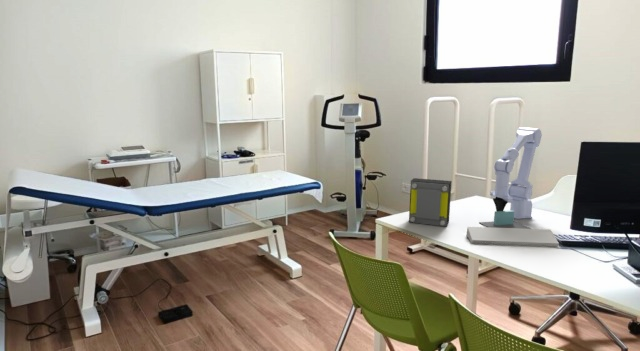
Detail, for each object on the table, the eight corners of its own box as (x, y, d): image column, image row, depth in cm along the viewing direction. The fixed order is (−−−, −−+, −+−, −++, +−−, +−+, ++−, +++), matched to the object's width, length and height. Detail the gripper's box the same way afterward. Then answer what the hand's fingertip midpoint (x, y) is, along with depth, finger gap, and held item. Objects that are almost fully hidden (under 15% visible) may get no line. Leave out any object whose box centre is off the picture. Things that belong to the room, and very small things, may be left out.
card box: (510, 223, 216) (511, 210, 214) (513, 224, 214) (514, 211, 213) (493, 224, 214) (494, 211, 212) (495, 225, 212) (497, 212, 211)
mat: (512, 220, 220) (512, 220, 220) (532, 229, 207) (532, 228, 207) (479, 223, 216) (479, 222, 216) (496, 232, 203) (497, 231, 203)
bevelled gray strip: (556, 253, 187) (548, 238, 196) (559, 243, 185) (550, 229, 194) (470, 249, 190) (466, 236, 199) (472, 240, 188) (467, 226, 197)
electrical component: (407, 223, 215) (409, 181, 212) (412, 217, 225) (414, 177, 221) (446, 227, 209) (449, 185, 205) (449, 221, 218) (451, 180, 214)
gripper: (485, 182, 219) (483, 209, 222) (503, 189, 205) (501, 218, 208) (498, 181, 220) (496, 209, 223) (517, 188, 207) (514, 217, 209)
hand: (499, 213), depth 216 cm, fingers closed
